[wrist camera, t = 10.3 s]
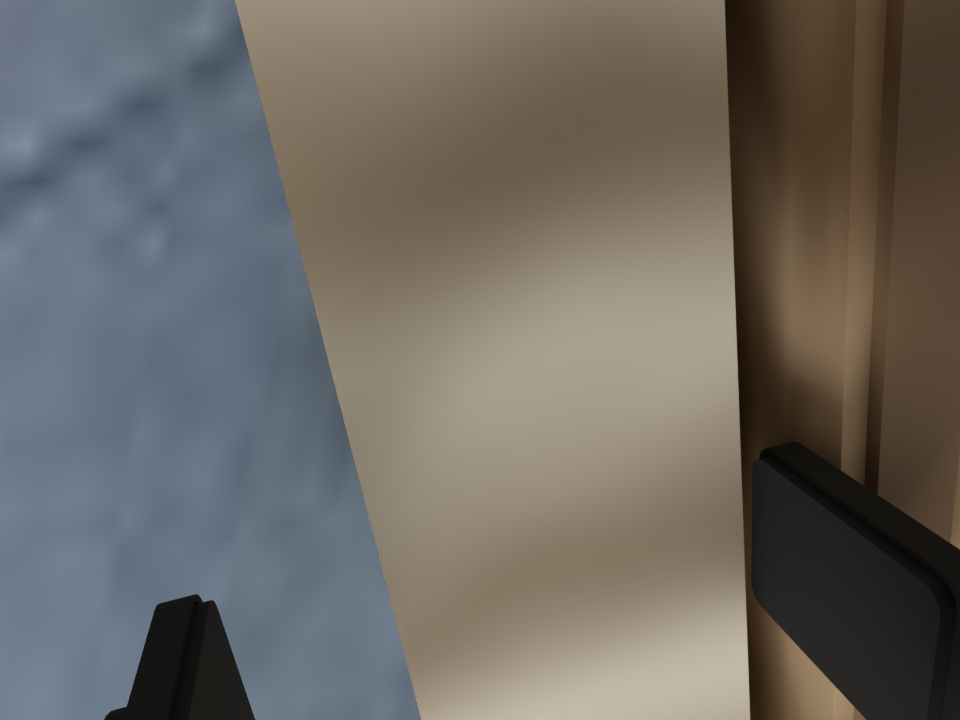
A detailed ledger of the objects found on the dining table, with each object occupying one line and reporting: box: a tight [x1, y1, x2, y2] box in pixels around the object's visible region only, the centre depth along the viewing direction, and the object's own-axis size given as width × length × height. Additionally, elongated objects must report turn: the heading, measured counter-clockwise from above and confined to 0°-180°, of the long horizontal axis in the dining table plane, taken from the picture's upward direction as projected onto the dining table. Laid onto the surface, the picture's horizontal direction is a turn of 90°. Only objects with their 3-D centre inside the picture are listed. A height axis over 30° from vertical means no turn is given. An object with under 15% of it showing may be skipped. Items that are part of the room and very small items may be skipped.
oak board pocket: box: [725, 0, 960, 720], centre depth 13 cm, size 26×18×4 cm
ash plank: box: [235, 0, 750, 720], centre depth 13 cm, size 20×6×4 cm, turn 9°
